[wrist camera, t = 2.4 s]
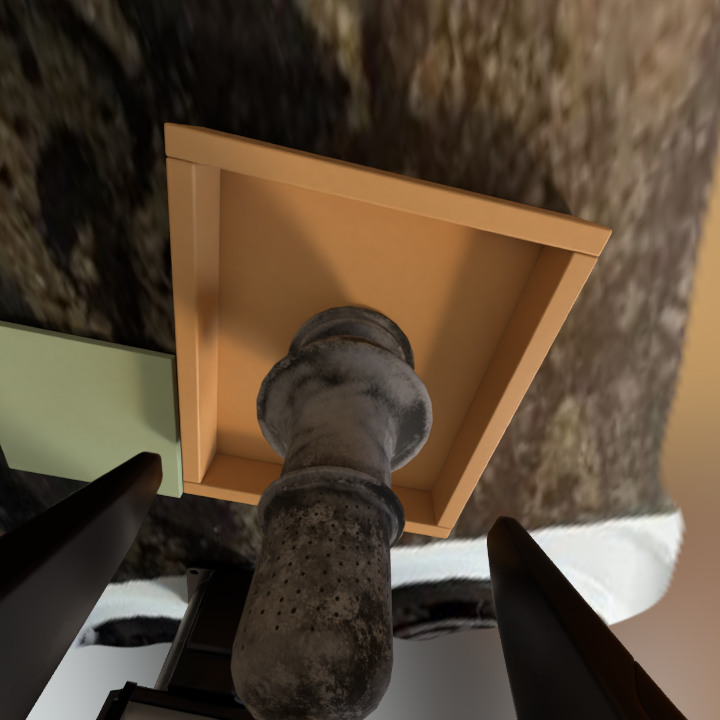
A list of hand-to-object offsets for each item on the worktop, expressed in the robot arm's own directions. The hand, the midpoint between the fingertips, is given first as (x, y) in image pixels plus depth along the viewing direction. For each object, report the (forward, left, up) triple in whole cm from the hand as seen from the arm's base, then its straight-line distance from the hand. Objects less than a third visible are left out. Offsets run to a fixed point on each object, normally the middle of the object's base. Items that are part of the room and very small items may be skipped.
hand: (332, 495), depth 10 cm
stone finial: (0, 0, -7) cm, 7 cm away
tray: (0, 0, -7) cm, 7 cm away
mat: (-6, +12, -7) cm, 15 cm away
